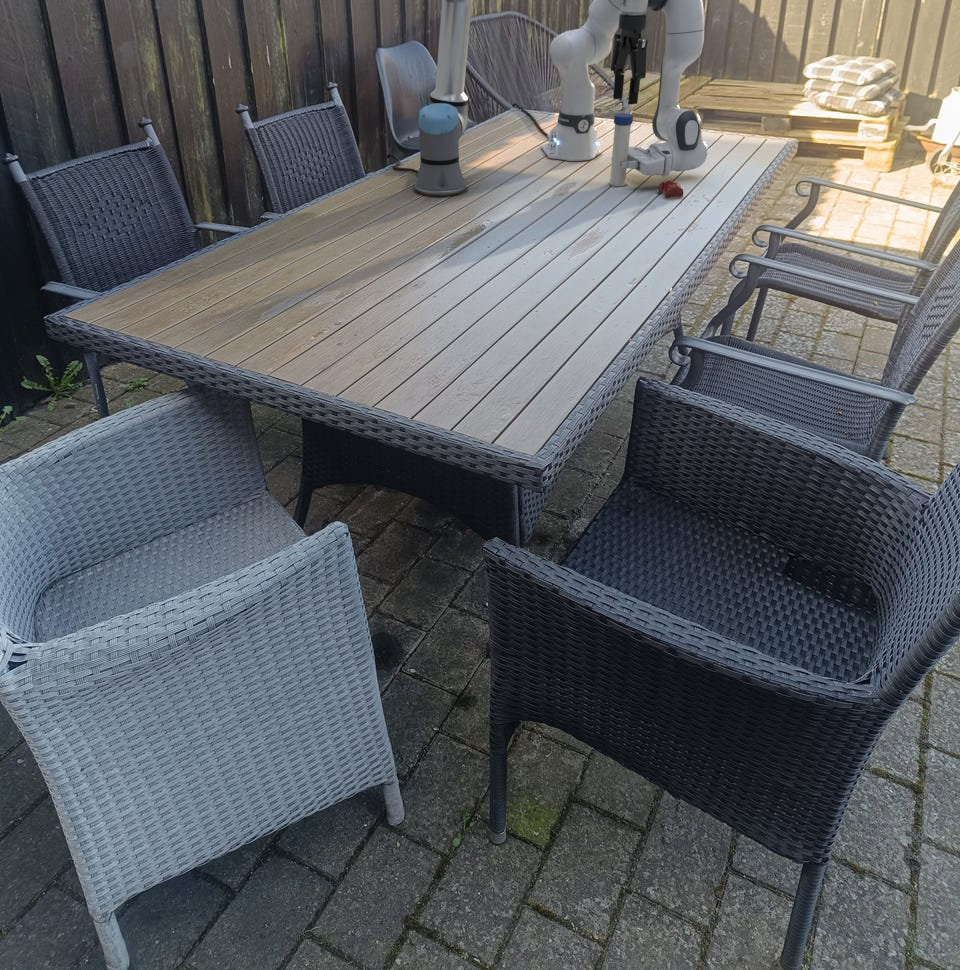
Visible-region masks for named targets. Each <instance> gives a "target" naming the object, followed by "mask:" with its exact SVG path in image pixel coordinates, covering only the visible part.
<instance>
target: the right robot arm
mask: <svg viewBox="0 0 960 970" xmlns="http://www.w3.org/2000/svg"><path fill="white" fill-rule="evenodd" d="M620 7H621V0H592V2H591V3H590V5H589V7H588V17H587V19H586V22H585V23H584V24H583V25H582V26H581V27H579V28H576V29H570V30H566V31H564V32H562V33H560V34H559V35H557V36H555V37H554V38H553V40H551V43H550V46H549V51H548V52H549V58H550V61H551V62H552V64H553V65H554V66H555V67H556V69H557V72H558V75H559V79H560V80H559V81H560V88H561V91H560V92H561V93H560V96H561V97H560V111H558V116H557V123H556V125H555V126H554V127H553V128H552V129H551V130H550V131H549V133H547V132H546V131H544V130H543V128H542V127H541V126H540V125H539V123H538V122H537V120H536V119H535V118H534V117H533V115H532V114H531V113H530V112H529V111H527V110H526V109H524V108H523V107H522V106H520V105H519V104H518V103H516V102H514V103H513V104H512V107H514V108H515V107H516V108H517V109H518V110H520V111H522V112H523V113H525V114H526V115H527V116H528V117H529V118H531V120H532V121H533V123H534V124H535V126H536V127H537V129H538V130H539V131H540V132H541V133H542V134H543V135H544V136H545V137H546V141H547V142H548V143H545V144H542V145H541V149H542V150H543V152H544V153H545V155H546V156H547V157H548V159H552V160H553V159H554V160H562V161H570V162H581V161H583V162H584V161H589V160H592V159H595V158H596V157H597V156H599V155H601V150H599V149H598V146H601V143H600V142H598V130H597V128H596V127H595V126H594V125H595V119H596V113H595V97H596V86H595V85H594V83H593V82H592V81H591V78H590V73H589V66H592V65H596V64H598V63H600V62H602V61H603V60H605V59H606V58H608V57H609V55H610V53H611V51H612V49H613V39H614V38H615V34H617V31H618V30H619V16H620V14H622V12H621V11H620ZM647 10H651V11H654V12H660V11H662V12H663V14H664V17H665V42H664V43H665V44H664V53H663V56H662V57H663V58H662V61H661V67H660V76H659V85H658V96H657V97H658V98H657V104H656V105H657V106H656V110H655V112H654V115H653V118H652V124H651V125H652V127H651V128H652V132H653V134H654V136H655V138H657V139H658V140H660V141H662V142H659V143H658V142H657V143H651V144H650V145H649V146H648V147H647V148H645V149H644V148H643V147H641V146H629V149H628V159H627V161H621V162H620V167H621V168H627V169H630V170H635V171H637V172H639V173H640V174H642V175H643V176H651V177H652V176H662V177H670V174H671V172H677V173H678V172H687V171H691V170H692V171H693V170H695V169H698V168H700V167H702V166H703V165H704V164H705V162H706V160H707V157H708V151H709V149H708V145H707V143H706V142H705V140H704V138H703V134H702V127H703V126H702V119H701V117H700V115H699V113H698V112H696V111H695V110H690V109H686V108H680V106H679V99H680V98H679V97H680V88H681V78H682V75H683V73H684V71H685V70H686V69H687V68H688V67H689V66H691V65H692V64H693V63H695V62H696V61H697V60H698V58H700V56H701V54H702V52H703V47H704V43H705V10H704V1H703V0H648V8H647Z"/></svg>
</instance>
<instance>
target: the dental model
mask: <svg viewBox="0 0 960 970" xmlns="http://www.w3.org/2000/svg"><path fill="white" fill-rule="evenodd" d="M657 189H658V190H657V191H658V192H657V193H658V194H659V193H664V198H665V199H670V198H680V197H683V196H684V189H683V188H682V185H681V183H679V182H676V181H674V180H673V179H665V180H663V181H661V182H660V183H659V185H658V188H657Z"/></svg>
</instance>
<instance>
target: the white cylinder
mask: <svg viewBox="0 0 960 970" xmlns="http://www.w3.org/2000/svg"><path fill="white" fill-rule="evenodd" d="M631 127H632V124H630V125H617V124H614V129H613V142H612V153H611V164H610V175H609V176H610V177H609V185H610V186H612V187H623V186H626V178H627V169H628V168H621V167H620V162H621V161H627V159H628V149H629V147H630V140H631V139H630V138H631Z"/></svg>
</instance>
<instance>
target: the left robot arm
mask: <svg viewBox="0 0 960 970" xmlns="http://www.w3.org/2000/svg"><path fill="white" fill-rule="evenodd" d="M473 1H474V0H441V7H440V8H441V9H440V22H439V35H438V36H439V37H438V49H437V50H438V51H437V62H436V64H437V65H436V78H435V88H434V90H432V91H431V92H430V94H429V104H428V105H425V106H423V107H422V108H420V110H419V112H418V119H417V123H418V134H419V135H418V136H419V157H420V158H419V159H420V161H419V162H420V164H419V168H418V170H417V169H415V168H411V167H399V165H400V163H401V160H400V159H399V157H398V156H397V155H395V154H393V153H388V154H387V155H386V159H390V158H393V159H394V160H395V161H396V162H395V163H393V164H392V165H394V164H395V165H394V166H391V168H392V169H393V170H395V171H399V172H411V173H415V174H417V176H416V180H415V185H414V186H415V192H417V193H418V194H420V195H424V196H430V197H450V196H455V195H459V194H461V193H463V192H464V191H466V181H465V179H464V176H463V172H462V169H461V165H460V144H459V143H460V141H459V140H460V139H461V137H463V135H464V134H465V132H466V131H467V128H468V125H469V114H468V105H469V97H468V95H467V94H466V93H465V84H466V83H465V82H466V72H467V71H466V70H467V61H468V49H469V40H470V39H469V37H470V27H471V16H472V6H473V5H472V4H473ZM647 8H648V0H621V7H620V11H621V12H622V14H620V16H619V28H618V30H621V32H620V33H615V35H614V45H613V51H612V58H611V65H610V71H611V72H613V74H614V80H613V81H614V82H613V97H612V99H613V100H621V99H623V93H624V82H625V71H624V70H625V66H626V63H627V61H628V57H629V60H630V68H631V77H630V78H629V91H628V100H627V105H629V106H631V105H637V104H638V101H639V92H640V85H641V81H642V79H646V77H647V75H646V73H647V48H648V43H649V40H648V39H645V38H643V36H642V32H643V30H645V29H646V24H647V14H646V13H647V12H648V9H647Z"/></svg>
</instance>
